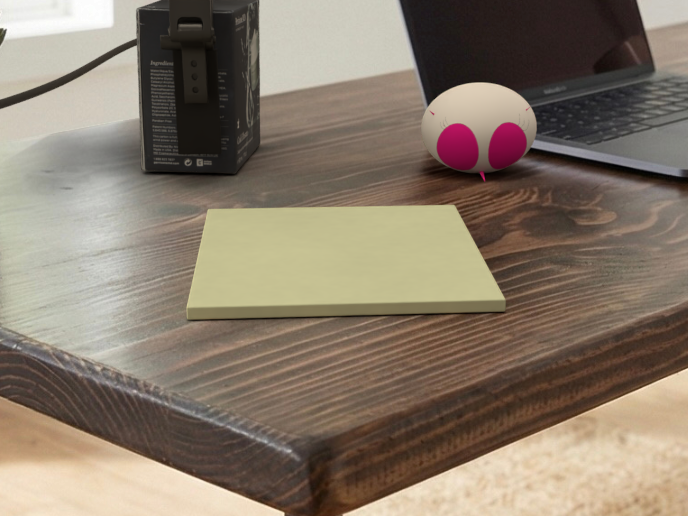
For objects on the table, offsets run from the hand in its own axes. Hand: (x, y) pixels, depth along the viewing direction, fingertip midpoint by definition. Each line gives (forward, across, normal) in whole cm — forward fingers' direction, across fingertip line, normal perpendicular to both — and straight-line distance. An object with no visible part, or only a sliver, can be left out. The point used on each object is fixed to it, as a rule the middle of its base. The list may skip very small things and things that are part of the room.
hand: (205, 136), depth 88 cm
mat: (+2, -26, -8) cm, 27 cm away
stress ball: (+2, -6, -18) cm, 19 cm away
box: (+2, 0, 0) cm, 2 cm away
